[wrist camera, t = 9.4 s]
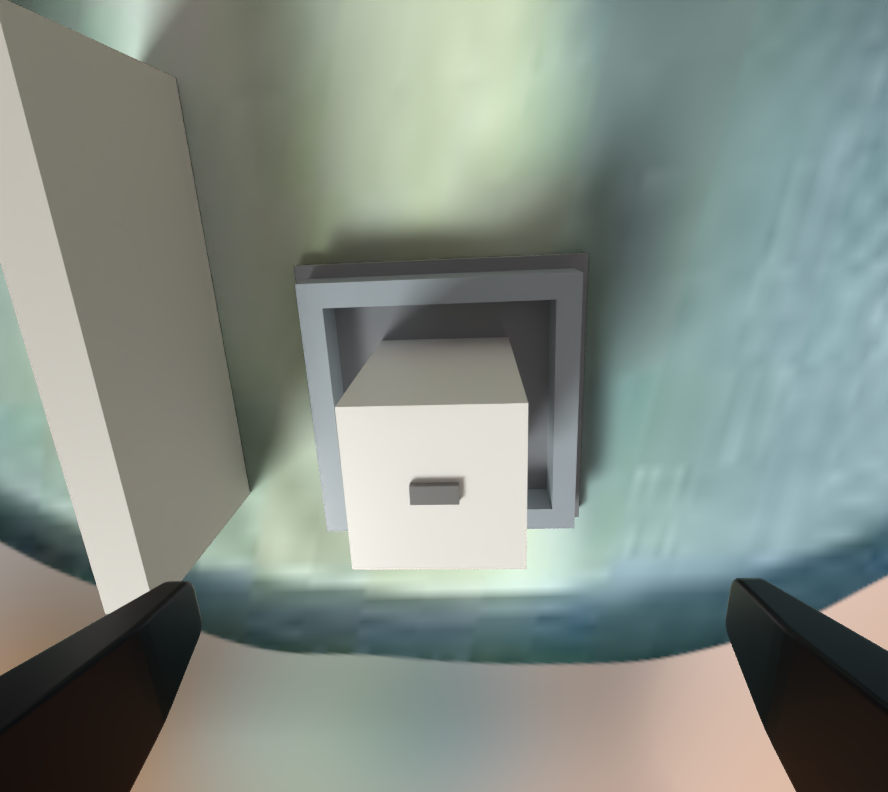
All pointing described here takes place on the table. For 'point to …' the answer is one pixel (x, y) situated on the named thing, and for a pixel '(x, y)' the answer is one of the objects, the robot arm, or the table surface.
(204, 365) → the wall stub
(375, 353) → the block
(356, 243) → the table surface
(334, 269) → the frame
